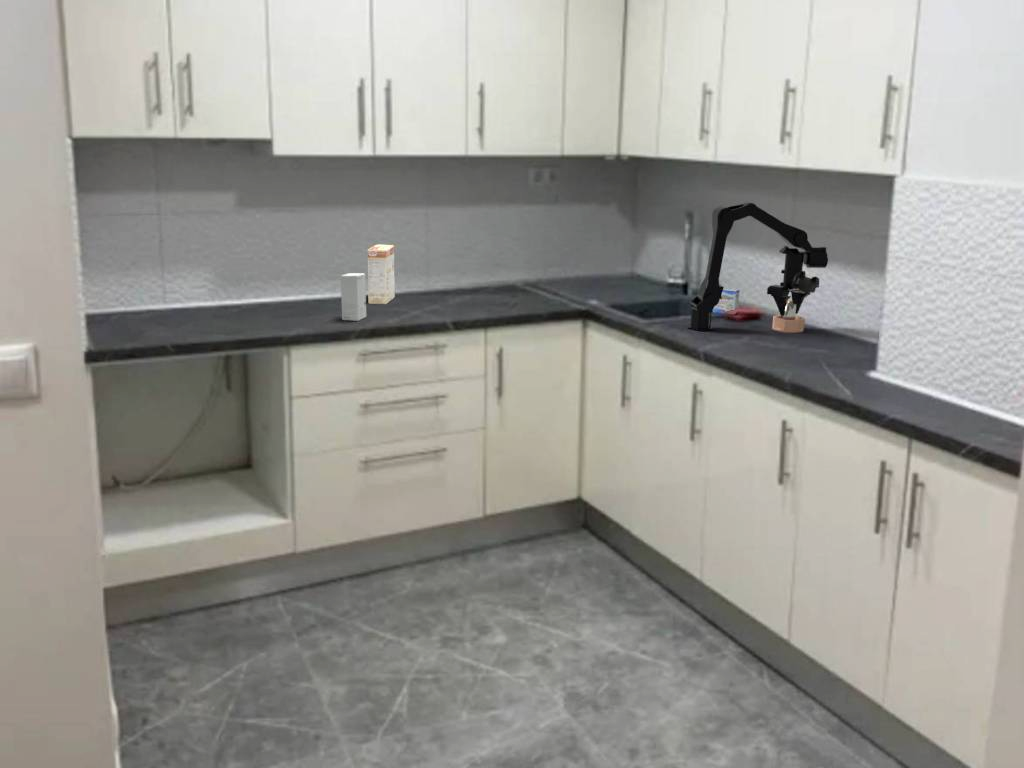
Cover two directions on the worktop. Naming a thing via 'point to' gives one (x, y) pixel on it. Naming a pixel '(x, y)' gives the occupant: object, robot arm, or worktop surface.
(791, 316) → the battery cell
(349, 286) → the skincare box
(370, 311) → the worktop surface
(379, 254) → the coffeecake box
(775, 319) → the cup
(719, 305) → the medicine box
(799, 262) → the robot arm
